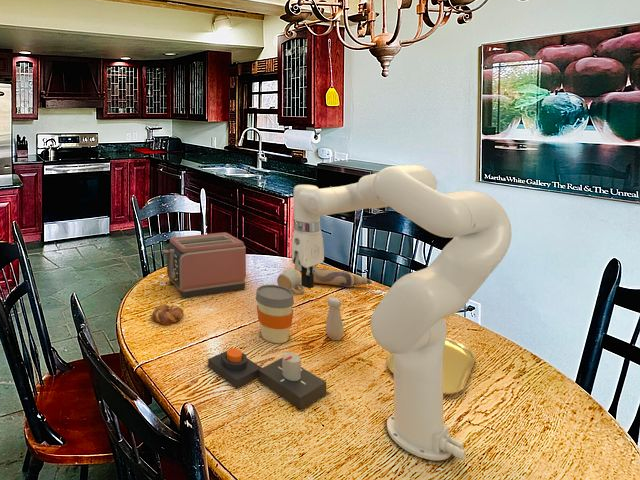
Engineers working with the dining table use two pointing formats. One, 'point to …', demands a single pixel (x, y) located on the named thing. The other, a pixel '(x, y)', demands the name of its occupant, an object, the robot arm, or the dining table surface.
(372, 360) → the dining table surface
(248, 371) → the block
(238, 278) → the toaster
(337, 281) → the decorative bottle
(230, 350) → the button
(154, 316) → the braided bread roll
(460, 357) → the serving platter
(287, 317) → the reusable coffee cup
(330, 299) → the salt shaker
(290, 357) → the timer knob
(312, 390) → the fryer panel
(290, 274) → the ceramic mug
